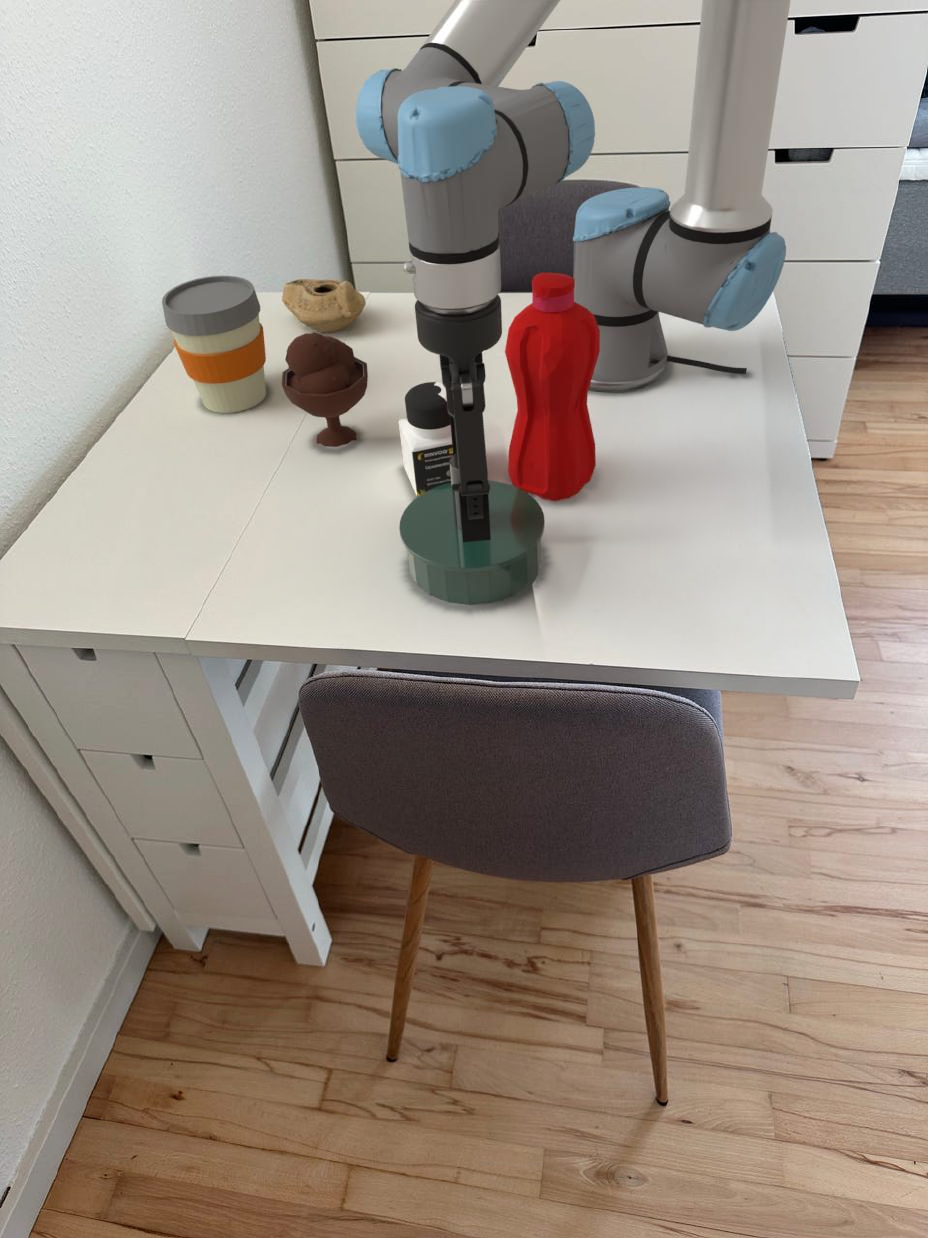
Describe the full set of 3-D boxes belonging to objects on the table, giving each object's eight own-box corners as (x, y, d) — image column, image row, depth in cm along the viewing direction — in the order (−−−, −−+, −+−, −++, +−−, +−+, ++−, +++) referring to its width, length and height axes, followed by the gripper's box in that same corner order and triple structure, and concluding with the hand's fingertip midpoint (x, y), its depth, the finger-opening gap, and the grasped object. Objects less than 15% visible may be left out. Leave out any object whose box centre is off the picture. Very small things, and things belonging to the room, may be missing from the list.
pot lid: (534, 482, 101) (534, 413, 95) (554, 569, 90) (555, 497, 84) (399, 494, 101) (390, 426, 95) (402, 583, 89) (392, 513, 84)
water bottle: (610, 465, 111) (623, 261, 93) (566, 512, 104) (570, 302, 87) (545, 445, 115) (545, 246, 97) (498, 489, 108) (490, 285, 91)
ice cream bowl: (366, 464, 114) (348, 354, 104) (283, 459, 116) (257, 350, 106) (387, 420, 121) (373, 313, 111) (309, 416, 123) (288, 311, 113)
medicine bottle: (417, 500, 108) (407, 411, 99) (403, 468, 113) (393, 381, 104) (474, 488, 109) (469, 399, 100) (458, 457, 114) (452, 370, 106)
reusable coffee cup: (173, 413, 126) (140, 310, 116) (218, 371, 135) (192, 271, 124) (252, 424, 123) (226, 319, 112) (293, 380, 131) (272, 278, 121)
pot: (531, 519, 104) (531, 480, 100) (549, 601, 93) (549, 561, 90) (408, 530, 103) (403, 492, 100) (412, 614, 93) (406, 575, 89)
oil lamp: (301, 304, 150) (292, 256, 145) (381, 314, 145) (375, 265, 140) (266, 333, 143) (255, 283, 137) (350, 345, 138) (342, 294, 133)
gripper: (409, 245, 87) (429, 436, 101) (419, 369, 69) (441, 580, 83) (487, 238, 87) (495, 429, 101) (517, 361, 69) (522, 572, 83)
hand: (471, 498), depth 92 cm, fingers open, 13 cm apart
